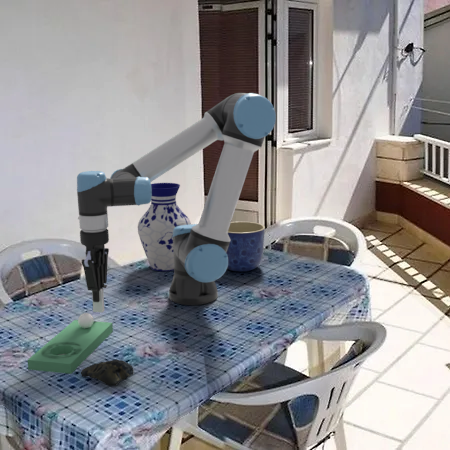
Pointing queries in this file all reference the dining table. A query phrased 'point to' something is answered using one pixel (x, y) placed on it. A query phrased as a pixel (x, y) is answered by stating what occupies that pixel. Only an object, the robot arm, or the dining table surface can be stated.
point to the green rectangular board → (70, 347)
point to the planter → (245, 245)
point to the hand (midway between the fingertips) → (98, 311)
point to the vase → (161, 226)
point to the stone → (109, 371)
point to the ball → (85, 320)
